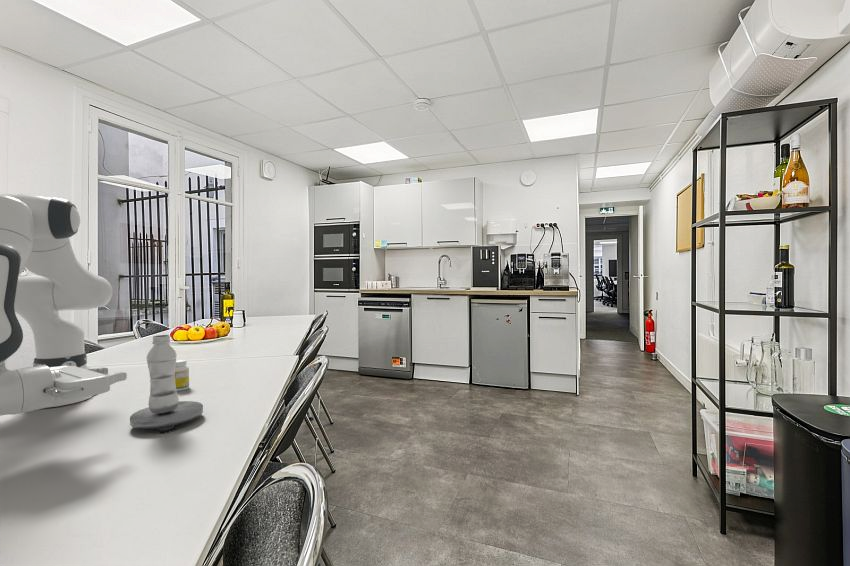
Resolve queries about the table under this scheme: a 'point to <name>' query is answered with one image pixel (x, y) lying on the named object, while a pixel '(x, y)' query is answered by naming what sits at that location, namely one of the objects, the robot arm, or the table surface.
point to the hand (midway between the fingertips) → (115, 373)
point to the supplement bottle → (181, 375)
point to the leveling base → (166, 417)
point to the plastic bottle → (162, 376)
